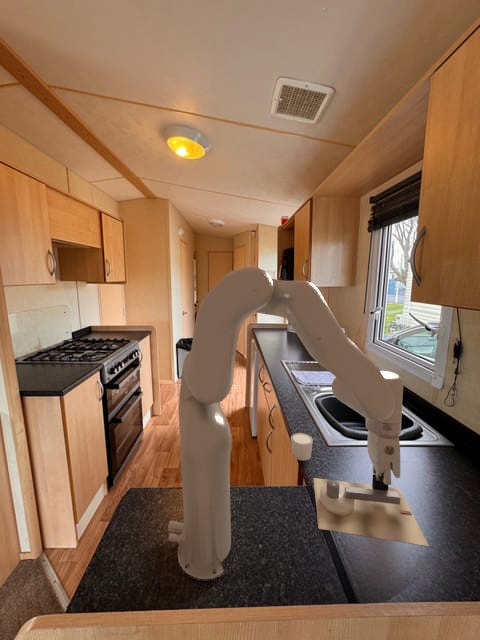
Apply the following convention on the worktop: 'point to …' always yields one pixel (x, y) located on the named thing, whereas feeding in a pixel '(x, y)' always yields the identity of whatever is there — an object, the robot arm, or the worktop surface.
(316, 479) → the tan flat board
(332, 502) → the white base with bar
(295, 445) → the white short cylinder
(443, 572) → the worktop surface
